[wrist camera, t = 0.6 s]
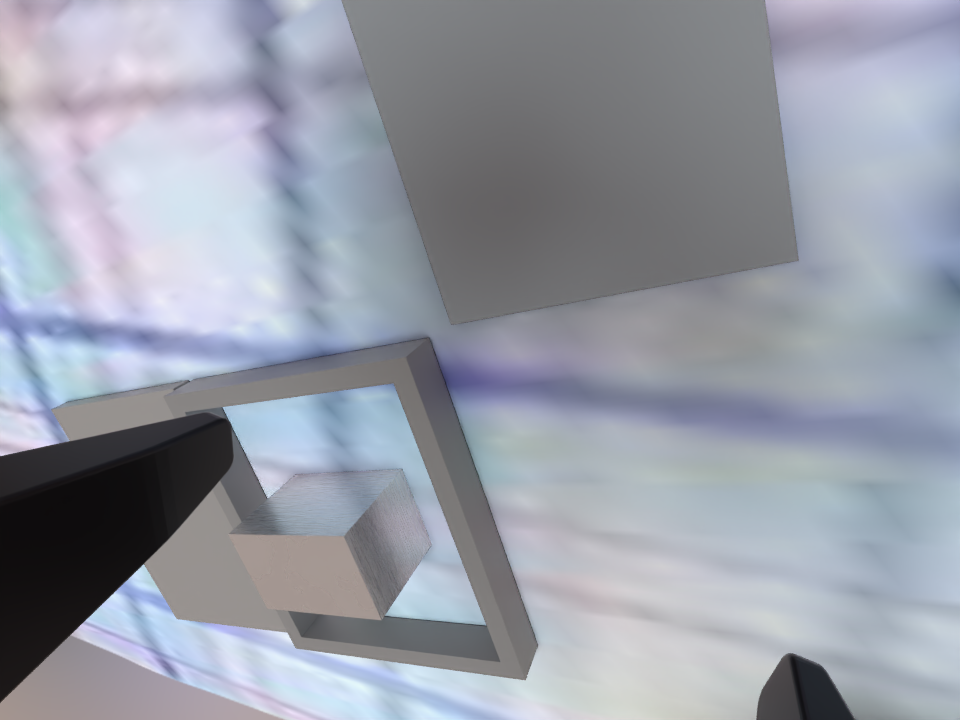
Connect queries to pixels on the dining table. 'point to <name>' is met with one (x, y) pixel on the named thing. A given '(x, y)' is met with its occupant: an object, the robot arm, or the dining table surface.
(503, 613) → the gray rectangular frame
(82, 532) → the robot arm
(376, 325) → the dining table surface
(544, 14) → the slate mat
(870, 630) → the dining table surface
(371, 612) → the block
